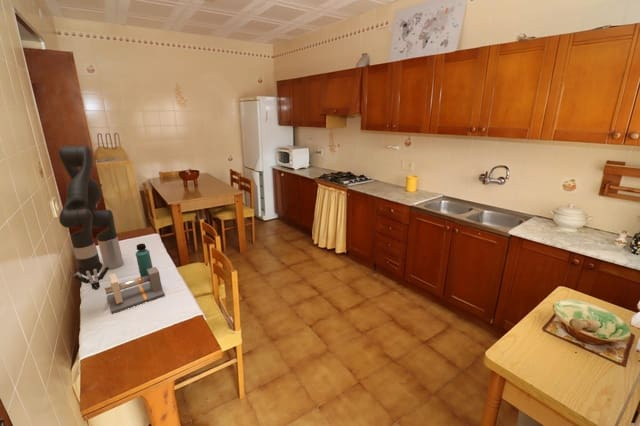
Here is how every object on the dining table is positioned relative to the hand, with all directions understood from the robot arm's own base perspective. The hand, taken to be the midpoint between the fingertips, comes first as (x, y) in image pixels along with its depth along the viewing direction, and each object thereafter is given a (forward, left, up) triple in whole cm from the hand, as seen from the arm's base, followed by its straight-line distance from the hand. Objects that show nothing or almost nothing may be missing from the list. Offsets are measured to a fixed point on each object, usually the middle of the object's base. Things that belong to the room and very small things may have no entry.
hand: (96, 288), depth 135 cm
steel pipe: (0, +12, -4) cm, 13 cm away
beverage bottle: (-15, +22, -11) cm, 29 cm away
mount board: (0, +13, -10) cm, 17 cm away
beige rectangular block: (0, +7, -8) cm, 10 cm away
